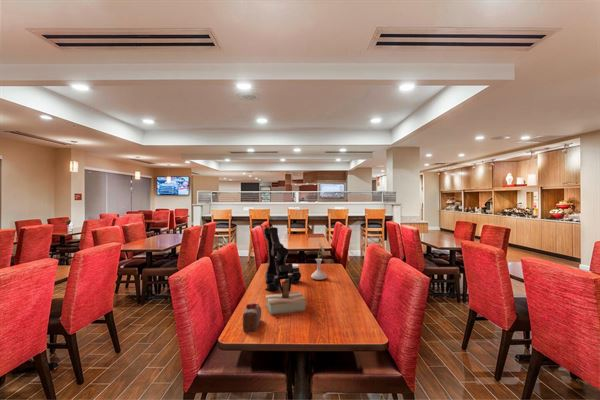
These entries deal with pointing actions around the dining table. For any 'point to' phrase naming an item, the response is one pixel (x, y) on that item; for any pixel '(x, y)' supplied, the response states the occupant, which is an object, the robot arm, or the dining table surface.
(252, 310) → the food item
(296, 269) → the spread jar
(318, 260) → the flower in vase
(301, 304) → the grey rectangular tray
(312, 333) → the dining table surface
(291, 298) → the lid
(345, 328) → the dining table surface
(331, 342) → the dining table surface
